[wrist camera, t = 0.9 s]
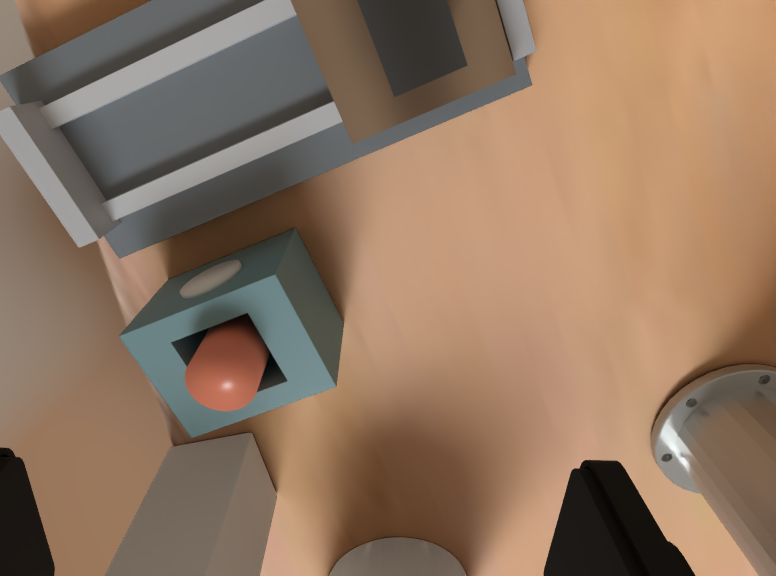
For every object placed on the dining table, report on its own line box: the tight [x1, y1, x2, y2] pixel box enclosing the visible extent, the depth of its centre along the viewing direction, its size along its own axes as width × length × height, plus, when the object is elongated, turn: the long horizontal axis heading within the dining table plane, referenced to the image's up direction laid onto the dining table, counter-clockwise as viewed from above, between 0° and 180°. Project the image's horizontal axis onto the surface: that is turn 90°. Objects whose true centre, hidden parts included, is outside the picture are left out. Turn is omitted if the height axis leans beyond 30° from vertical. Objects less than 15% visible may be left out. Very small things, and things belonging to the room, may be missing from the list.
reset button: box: [185, 313, 270, 411], centre depth 32 cm, size 4×4×5 cm
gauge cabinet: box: [119, 228, 344, 438], centre depth 35 cm, size 10×8×8 cm
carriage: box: [291, 0, 516, 144], centre depth 24 cm, size 9×9×10 cm
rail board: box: [0, 0, 536, 259], centre depth 31 cm, size 28×12×5 cm, turn 112°
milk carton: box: [105, 433, 277, 576], centre depth 37 cm, size 7×7×19 cm
